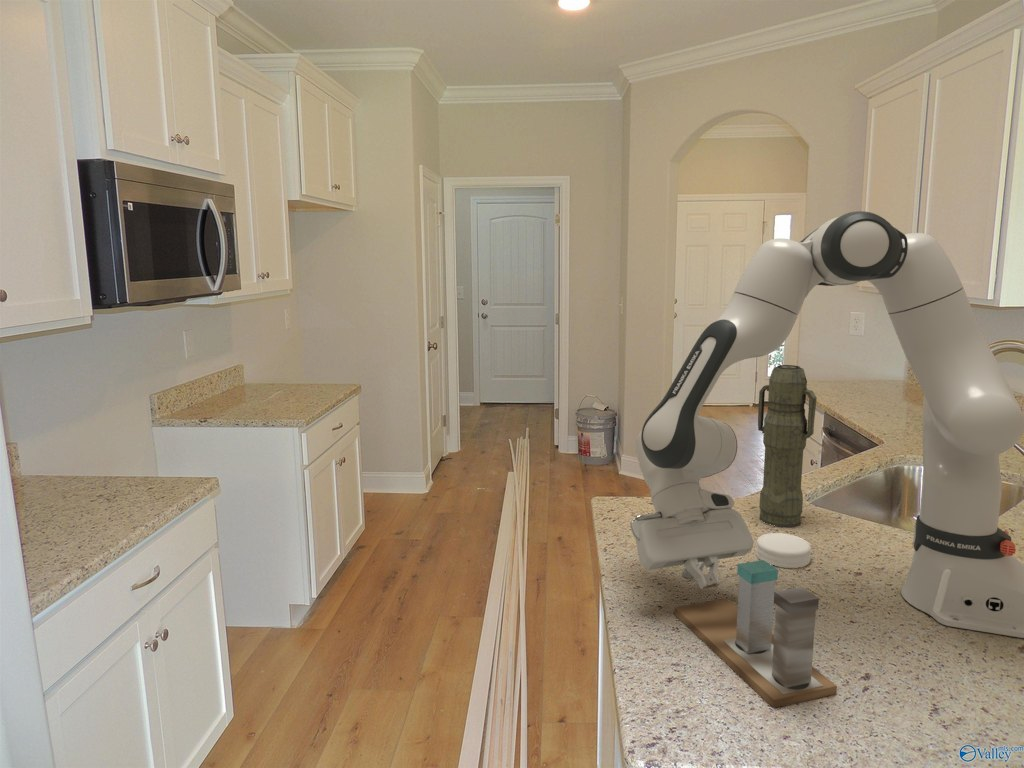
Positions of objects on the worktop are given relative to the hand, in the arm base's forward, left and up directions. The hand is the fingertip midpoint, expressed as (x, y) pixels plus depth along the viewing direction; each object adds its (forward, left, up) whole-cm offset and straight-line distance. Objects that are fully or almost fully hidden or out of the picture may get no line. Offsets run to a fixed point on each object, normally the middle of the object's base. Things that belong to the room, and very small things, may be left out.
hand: (710, 586), depth 114 cm
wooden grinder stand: (-8, +6, -5) cm, 12 cm away
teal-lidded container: (-9, +7, -4) cm, 12 cm away
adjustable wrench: (+9, -25, -6) cm, 27 cm away
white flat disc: (-5, -31, -6) cm, 31 cm away
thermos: (0, -51, -6) cm, 51 cm away
